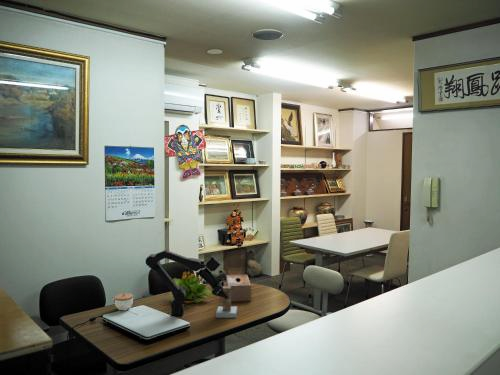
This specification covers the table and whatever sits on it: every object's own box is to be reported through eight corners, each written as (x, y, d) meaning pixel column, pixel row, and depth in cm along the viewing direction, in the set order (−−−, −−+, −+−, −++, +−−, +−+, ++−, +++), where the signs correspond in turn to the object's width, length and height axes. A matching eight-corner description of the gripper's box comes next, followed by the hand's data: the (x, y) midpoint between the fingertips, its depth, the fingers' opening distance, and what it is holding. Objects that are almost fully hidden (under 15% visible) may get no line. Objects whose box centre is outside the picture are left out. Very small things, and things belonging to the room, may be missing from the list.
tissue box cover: (226, 289, 279) (226, 275, 278) (247, 288, 280) (247, 274, 280) (228, 301, 253) (228, 285, 253) (251, 300, 255) (251, 285, 254)
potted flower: (179, 310, 238) (179, 280, 237) (160, 300, 256) (160, 272, 256) (214, 301, 254) (214, 273, 253) (194, 292, 272) (194, 266, 271)
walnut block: (222, 311, 229) (222, 288, 228) (223, 308, 233) (222, 286, 233) (230, 311, 229) (230, 288, 228) (230, 308, 233) (230, 285, 233)
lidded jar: (127, 312, 234) (127, 296, 234) (111, 311, 236) (110, 295, 236) (136, 306, 245) (136, 291, 244) (120, 305, 247) (120, 290, 247)
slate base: (216, 317, 226) (216, 313, 226) (218, 310, 237) (218, 306, 237) (235, 317, 225) (235, 313, 225) (237, 310, 236) (237, 306, 236)
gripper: (217, 271, 220) (238, 290, 221) (219, 263, 239) (238, 281, 240) (203, 285, 220) (223, 305, 221) (206, 276, 239) (224, 294, 240)
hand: (228, 295), depth 231 cm, fingers open, 9 cm apart
